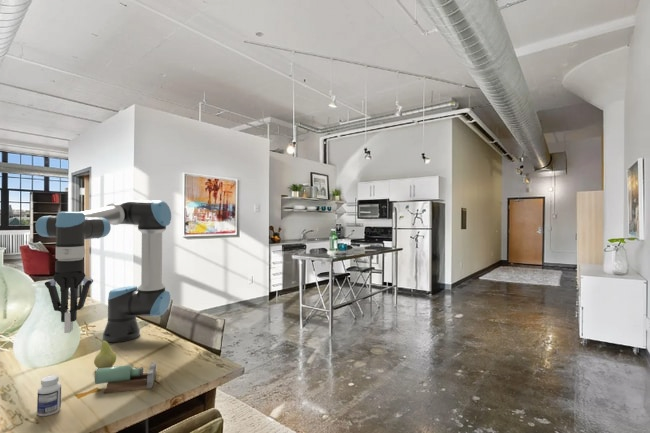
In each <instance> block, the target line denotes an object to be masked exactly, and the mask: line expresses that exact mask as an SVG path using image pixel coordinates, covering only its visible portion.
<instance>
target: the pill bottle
mask: <svg viewBox="0 0 650 433" xmlns="http://www.w3.org/2000/svg"><path fill="white" fill-rule="evenodd" d="M59 377H60V376H59V375H57V374H53V375H48V376H45V377H42V378H41V380H40V387H39V388H38V389H37V402H36V404H37V407H36V413H37V416H39V417H46V416H51V415H54V414H56V413H57V412H59V411H60V409H61V406H62V383H60V382H59V380H60V379H59Z"/></svg>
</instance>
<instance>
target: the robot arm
mask: <svg viewBox="0 0 650 433" xmlns="http://www.w3.org/2000/svg"><path fill="white" fill-rule="evenodd" d="M171 220H172V212H171V208H170V206H169V205H168V203H167V202H165V201H163V200H157V199H153V200H152V199H151V200H150V199H129V200H128V199H127V200H123V201H119V202H114V203H110V204H107V205H106V206H105V207H99V208H94V209H88V210H83V211H60V212H59V211H58V213H57V214H56V215H44V216H41V217H39V218H38V219H37V220H36V222H35V226H34V227H35V231H36V233H37V234H38V236H41V237H42V238H45V237H46V238H50V239H51V238H55V259H56V261H54V263H55V264H54V268H55V269H54V270H55V274H54V275H53V276H52V277H53V278H51V279H49V280H47V281H45V282H44V285H45V287H46V288H47V289H48V292H49V296H50V300H51V303H52V308H53V310H54V311H55V312H60V321H61V323H63V324H64V327H63V328H64V330H63V331H64V332H63V333H64V334H70V333H71V332H72V331H73V330H74V322H75V321H76V320H77V314H78V313H77V311H79V310H82V308H84V306H85V302H86V300H87V296H88V293H89V290H90V286H91V285H92V283H94V279H92V278H88V277H86V273H85V260H84V259H83V258H85V240H91V239H92V240H93V239H101V238H105V237H107V236H108V235H109V234H110V232H111V229H112V228H111V225H113V226H116V225H117V226H118V225H131V226H133V225H135V226H137V229H138V231H139V232H140V234H141V272H140V274H141V276H140V277H141V284H140V285H139V286H136V285H130V286H123V287H117V288H113V289H112V290H110V291H109V292H108V298H107V323H106V325H105V327H104V330H103V333H102V338H101V340H103V341H106V342H107V343H121V342H126V341H132V340H134V339H137V338H138V337H140V334H141V332H140V331H141V329H140V327H139V324H138V321H137V316H140V317H141V316H142V317H152V318H153V317H161V316H162V315H165V313H166V311H167V310H168V308H169V305H170V303H171V302H170V301H171V293H170V291H168V290H166V285H165V284H164V283H163V277H162V276H163V233H164V232H165V231H166V230H167V226H169V225H170V223H171V222H172V221H171ZM82 282H83V283H82ZM81 283H82V284H83V286H82V289H81V292H80V296H79V300H78V289H79V285H80V284H81ZM56 284H57V285H58V286H59V287H60V295H59V292H58V290H57V286H56ZM69 292H70V296H69ZM59 296H60V297H59ZM69 298H70V300H69ZM69 302H70V303H69ZM69 304H70V306H69ZM69 307H70V308H69Z"/></svg>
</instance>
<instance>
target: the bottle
mask: <svg viewBox="0 0 650 433" xmlns="http://www.w3.org/2000/svg"><path fill="white" fill-rule="evenodd" d="M143 373H144V367H143V366H142V367H136V368H133V365H131V364H130V365H128V364H127V365H120V366H118V365H117V366H112V367H107V368H97V369H96V371H95V373H94V384H95V385H100V384H108V382H117V381H126V380H131V377H132V376H143Z"/></svg>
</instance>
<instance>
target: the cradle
mask: <svg viewBox="0 0 650 433" xmlns="http://www.w3.org/2000/svg"><path fill="white" fill-rule="evenodd" d="M156 378H157V362H156V361H155V362H151V364H150V367H149V368H148V371H147V372H143V376H132V377H131V380H126V381H117V382H108V383H106V387H105V389H104V390H103V394H110V393H111V394H112V393H120V392H128V391H129V392H130V391H137V390H139V391H140V390H148V389H152V388H153V385H154V383H155V379H156Z"/></svg>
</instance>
